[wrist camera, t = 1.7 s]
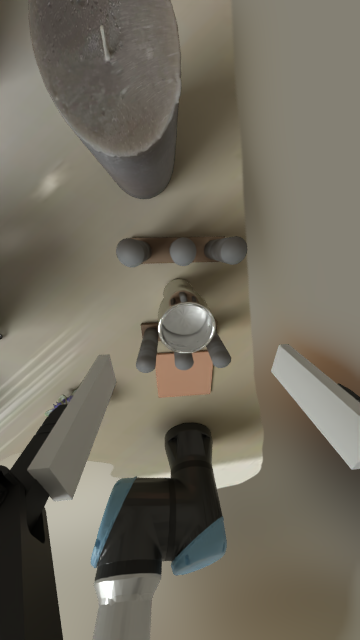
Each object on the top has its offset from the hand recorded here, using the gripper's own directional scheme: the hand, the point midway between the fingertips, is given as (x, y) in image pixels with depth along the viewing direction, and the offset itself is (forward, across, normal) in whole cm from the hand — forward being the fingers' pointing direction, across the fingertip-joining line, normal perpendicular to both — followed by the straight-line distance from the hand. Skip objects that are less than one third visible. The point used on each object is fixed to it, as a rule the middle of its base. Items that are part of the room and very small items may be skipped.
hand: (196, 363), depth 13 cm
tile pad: (+21, -1, +21) cm, 30 cm away
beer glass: (+21, 0, 0) cm, 21 cm away
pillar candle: (+21, +5, -20) cm, 29 cm away
